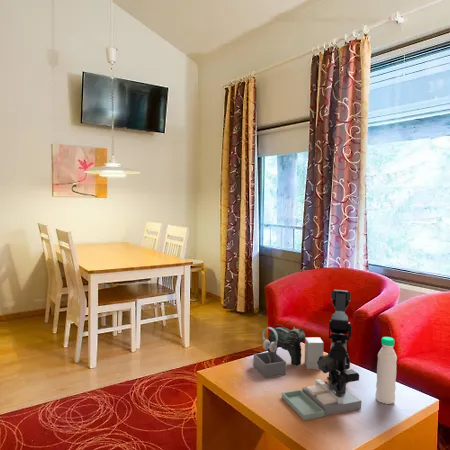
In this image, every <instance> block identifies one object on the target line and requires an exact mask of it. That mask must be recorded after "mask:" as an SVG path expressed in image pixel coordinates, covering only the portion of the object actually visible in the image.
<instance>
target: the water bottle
mask: <svg viewBox="0 0 450 450" xmlns="http://www.w3.org/2000/svg"><path fill="white" fill-rule="evenodd" d="M380 341H381V348H380V350H379V351H378V353H377V364H376V385H375V387H376V391H375V399H376V400H377V401H378V402H380V403H381V402H382V403H381V404H384V403H385V404H386V405H391V404H392V405H393V404H394V403H395V401H396V389H397V387H396V381H397V362H398V361H397V360H398V356H397V354H396V351H395V349H394V347H395V342H396V341H395V338H393V337H391V336H382V338H381V340H380Z"/></svg>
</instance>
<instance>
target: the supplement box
mask: <svg viewBox="0 0 450 450" xmlns="http://www.w3.org/2000/svg"><path fill="white" fill-rule="evenodd" d="M324 347H325V346H324V341H323V340H322V339H321V337H305V340H304V366H305V368H306V369H307V370H319V367H318V364H317V361H318V360H319V357H320V356H324Z"/></svg>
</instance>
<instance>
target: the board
mask: <svg viewBox="0 0 450 450" xmlns="http://www.w3.org/2000/svg"><path fill="white" fill-rule="evenodd" d="M325 383H326V382H325ZM326 384H327V385H328V386H329V382H327V383H326ZM301 390H302V391H303V392H304V393H305V394H306V395H307V396H308V397H309V398H311V399H312V400H313V401H314V402H315V403H316V404H317V405H318V406H319V407H321V408H322V409H323V410H324V411H325V416H329V415H334V414H340V413H344V412H350V411H354V410H353V409H355V410H359V408H360V409H362V399H360V398H359V397H358V396H356V395H355V394H353V393H352V392H351V391H349V390H348V389H347V388H346V393H343V394H340V395H341V396H342V397H343V403H342V404H337V403H336V402H335V403H330V404H325V405H324V404H323V403H322V402H320V401H319V400H318V399H317V395H312V394H311V393H310V392H309V391H308V390H307V386H303V387H302V389H301ZM319 395H320V394H319Z"/></svg>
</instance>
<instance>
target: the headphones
mask: <svg viewBox="0 0 450 450" xmlns="http://www.w3.org/2000/svg"><path fill="white" fill-rule="evenodd" d="M266 330H270V331H273V332H274V334H275V336H276V342H271V344H270V341H269V340H268V339H267V338H266V337H265V332H266ZM261 332H262V333H261V336H262V341H263V343H262V349H264V350H265V352H264V353H266V352H267V351H268V349H270V351H271V352H275V351H276V349H277V350H278V348H277V341H278V334H277V332H276V331H275V328H274V327H273V328H272V327H271V326H268V327H266V328H264V329H263V330H262V331H261ZM276 352H277V351H276ZM266 354H267V353H266ZM267 355H268V354H267ZM268 357H269V356H268ZM269 358H270V357H269ZM270 362H271V360H270ZM269 364H270V363H269Z"/></svg>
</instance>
